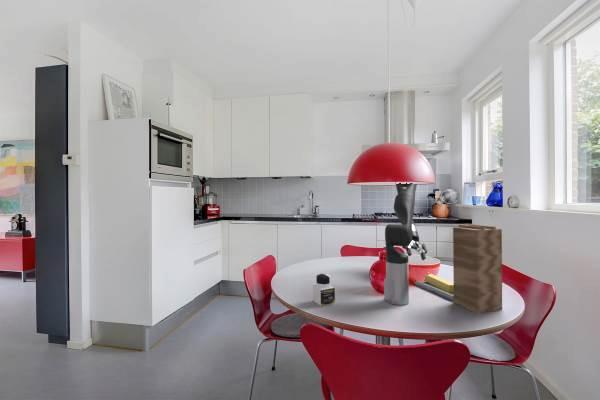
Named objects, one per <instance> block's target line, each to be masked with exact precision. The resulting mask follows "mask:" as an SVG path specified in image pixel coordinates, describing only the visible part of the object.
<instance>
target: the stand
mask: <svg viewBox="0 0 600 400" xmlns="http://www.w3.org/2000/svg"><path fill="white" fill-rule="evenodd" d="M502 232H503V231H502V228H497V227H496V226H492V225H491V226H489V225H480V224H471V223H470V224H468V225H467V224H458V226H454V227H452V235H453V236H452V243H453V245H452V248H453V249H452V250H453V252H452V254H453V255H452V256H453V259H452V260H453V261H452V262H453V263H452V264H453V265H452V266H453V271H452V272H453V284H454V301H453V304H457V305H459V306H461V307H463V308H466V309H468V310H470V311H472V312H474V313H476V314H482V313H489V312H494V311H502V310H503V234H502Z"/></svg>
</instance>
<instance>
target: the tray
mask: <svg viewBox="0 0 600 400" xmlns="http://www.w3.org/2000/svg"><path fill="white" fill-rule="evenodd" d="M414 284H415V285H414V286H417V287H419V288H422V289H424V290H425V291H429V292H430V293H433V294H434V295H438V296H440V297H442V298H444V299H446V300H449V301H451V302H454V293H448V292H446V291H444V290H442V289H440V288H438V287H436V286H434V285H432V284H430V283H428V282H421V281H416V282H415V281H414Z"/></svg>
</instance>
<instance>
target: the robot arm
mask: <svg viewBox="0 0 600 400" xmlns="http://www.w3.org/2000/svg"><path fill="white" fill-rule="evenodd" d="M417 186H418V183H417V184H413V183H410V184H407V183H406V184H401V183H399V184H396V183H395V187H396V193H397V194H396V195H395V199H394V203H393V211H394V212H395V216H396V218H397V219H398V220H399V222H400V223H401V224H391V223H390V224H389V223H388V224H387V225H386V226H385V228H384V229H385V230H384V241H385V242H384V243H385V278H384V279H383V282H384V283H383V287H384V288H383V291H384V292H383V295H384V296H383V297H384V301H386V302H387V303H389V304H391V305H397V306H398V305H399V306H400V305H402V306H403V305H408V304H409V303H410V300H409V299H410V288H409V287H410V285H409V284H410V281H409V280H410V279H409V271H410V270H409V257H411V256H412V255H413V254H412V250H411V249H413V250H415V251H416V252H417V253H419V254H420V259H421V261H425V260H426V259H427V257H426V254H427V253H428V250H427V246H426V244H425V243H421V242H420V237H419V233H418V230H417V228H416V227H417V226H416V225H415V221H414V216H415V211H414V210H415V204H416V203H415V200H416V189H417ZM396 247H402V249H403V250H405V251H406V253H407V254H406V253H404V252H401V251H400V250H398V249H397V248H396Z"/></svg>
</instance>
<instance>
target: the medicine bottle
mask: <svg viewBox="0 0 600 400" xmlns="http://www.w3.org/2000/svg"><path fill="white" fill-rule="evenodd" d="M315 278H316V284H313V285H312V302H313V301H314V303H315V304H316V303H317V305H318V306H320V307H325V305H326V306H329V305H334V303H336V291H335V289H336V287H335V286H334V285H331V276H330V274H327V273H319V274H317V275H316V277H315Z"/></svg>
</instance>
